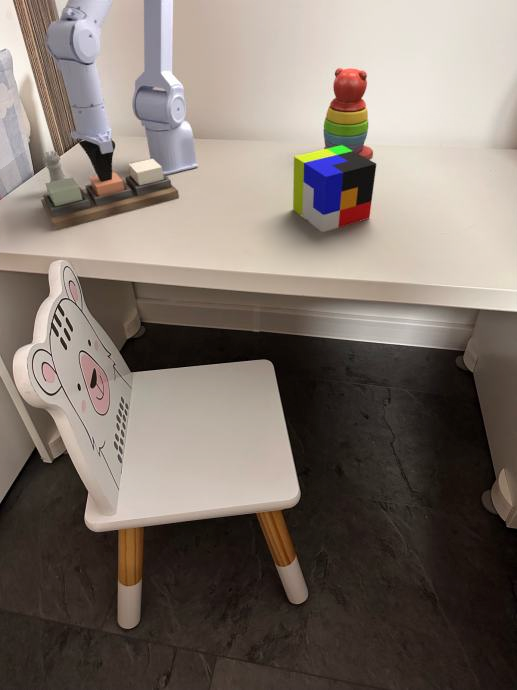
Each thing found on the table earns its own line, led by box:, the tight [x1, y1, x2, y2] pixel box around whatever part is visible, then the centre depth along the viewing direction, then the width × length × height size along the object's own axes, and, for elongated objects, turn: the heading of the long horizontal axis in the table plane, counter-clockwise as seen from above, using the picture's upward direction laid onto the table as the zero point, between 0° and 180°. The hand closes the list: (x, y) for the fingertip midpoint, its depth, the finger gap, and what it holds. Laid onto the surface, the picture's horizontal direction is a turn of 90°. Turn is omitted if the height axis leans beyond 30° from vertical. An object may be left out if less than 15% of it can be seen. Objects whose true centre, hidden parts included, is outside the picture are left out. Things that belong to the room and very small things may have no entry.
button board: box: [40, 174, 180, 231], centre depth 96 cm, size 24×11×3 cm, turn 119°
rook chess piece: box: [42, 150, 67, 182], centre depth 99 cm, size 4×4×8 cm
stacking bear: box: [323, 67, 374, 160], centre depth 105 cm, size 11×10×18 cm
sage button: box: [44, 176, 83, 206], centre depth 92 cm, size 5×5×2 cm
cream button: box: [128, 158, 164, 185], centre depth 97 cm, size 5×5×2 cm
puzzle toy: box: [292, 145, 377, 233], centre depth 88 cm, size 10×10×10 cm
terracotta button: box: [89, 171, 125, 197], centre depth 95 cm, size 5×5×2 cm
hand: (105, 179), depth 94 cm, fingers closed, pressing on terracotta button
